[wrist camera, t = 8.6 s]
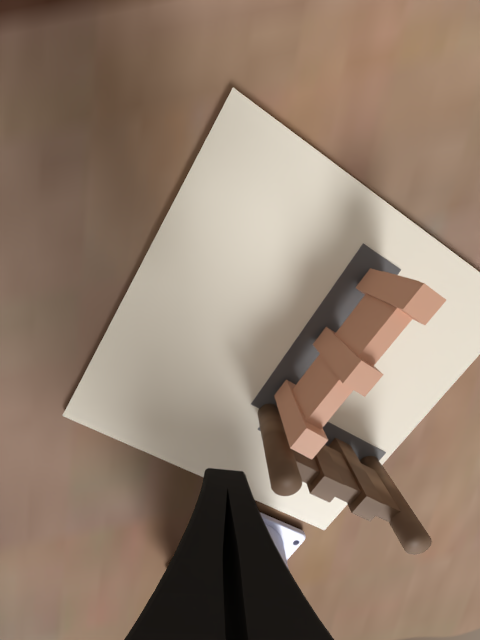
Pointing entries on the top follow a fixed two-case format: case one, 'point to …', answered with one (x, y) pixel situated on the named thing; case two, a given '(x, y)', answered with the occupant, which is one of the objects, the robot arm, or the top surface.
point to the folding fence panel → (352, 355)
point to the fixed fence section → (339, 480)
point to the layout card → (269, 311)
